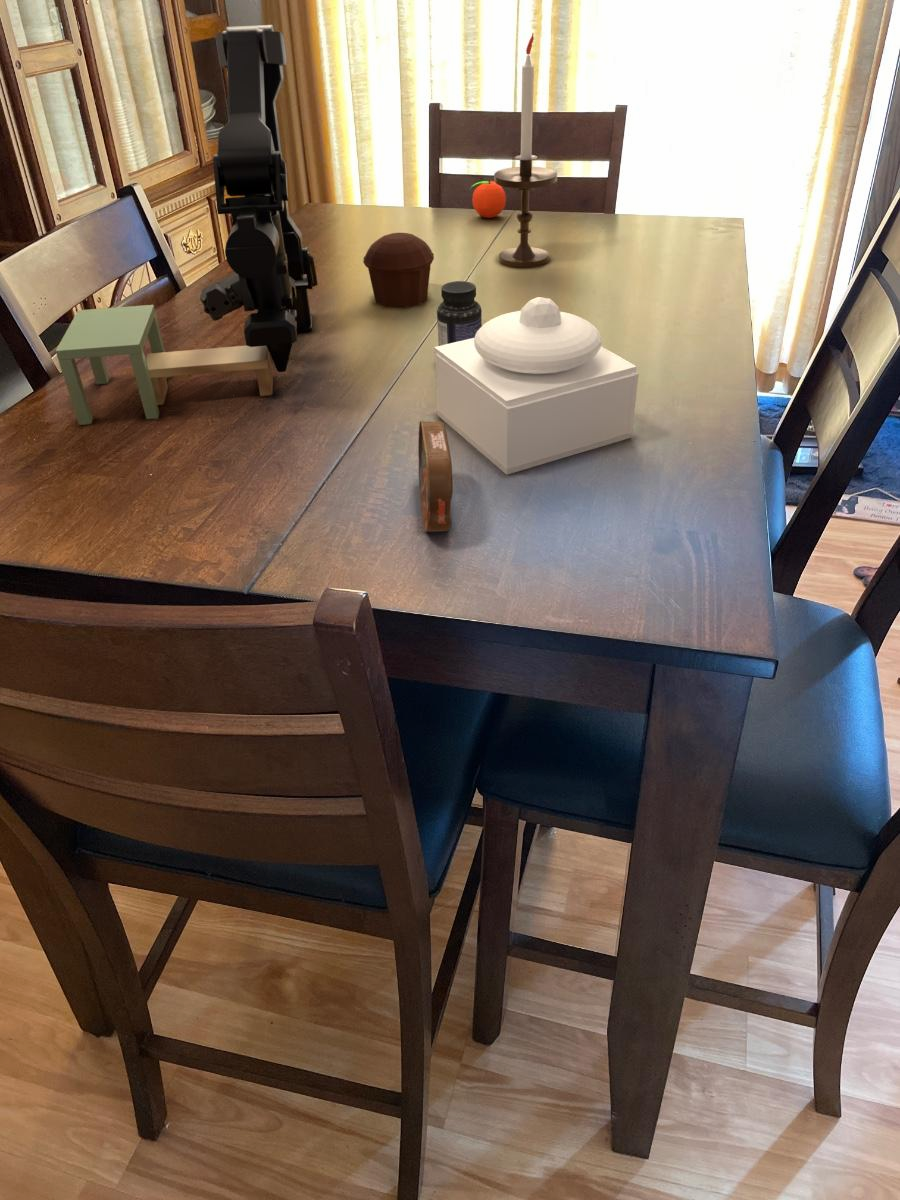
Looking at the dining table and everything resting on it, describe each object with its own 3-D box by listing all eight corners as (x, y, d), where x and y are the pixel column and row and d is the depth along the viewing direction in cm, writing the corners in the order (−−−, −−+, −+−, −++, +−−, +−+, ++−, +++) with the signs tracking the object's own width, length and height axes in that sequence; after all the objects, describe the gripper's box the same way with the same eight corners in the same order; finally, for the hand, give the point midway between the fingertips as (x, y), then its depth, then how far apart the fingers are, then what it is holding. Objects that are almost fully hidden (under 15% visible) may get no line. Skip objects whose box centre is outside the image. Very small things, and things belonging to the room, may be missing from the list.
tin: (417, 474, 101) (413, 407, 96) (445, 472, 101) (442, 405, 96) (426, 549, 89) (421, 476, 84) (457, 546, 89) (454, 474, 84)
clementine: (465, 221, 181) (464, 184, 176) (470, 212, 186) (469, 176, 182) (503, 222, 180) (504, 184, 175) (507, 212, 185) (508, 176, 181)
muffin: (394, 316, 140) (390, 251, 134) (352, 299, 147) (346, 237, 140) (449, 297, 146) (448, 234, 140) (407, 282, 153) (404, 221, 147)
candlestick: (563, 255, 162) (575, 29, 140) (536, 272, 155) (543, 37, 133) (512, 247, 166) (515, 27, 145) (483, 263, 159) (481, 35, 138)
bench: (273, 378, 123) (267, 343, 120) (272, 395, 119) (266, 359, 115) (156, 387, 121) (147, 353, 118) (151, 405, 117) (142, 370, 114)
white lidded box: (506, 475, 100) (508, 340, 90) (435, 413, 113) (430, 289, 103) (632, 437, 106) (646, 307, 96) (551, 383, 119) (556, 263, 109)
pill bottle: (487, 358, 126) (487, 281, 119) (474, 375, 122) (473, 296, 115) (447, 354, 128) (444, 277, 121) (432, 370, 123) (429, 292, 116)
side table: (170, 374, 125) (153, 304, 119) (158, 418, 114) (139, 344, 108) (98, 380, 124) (77, 310, 118) (79, 425, 113) (55, 350, 107)
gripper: (202, 237, 116) (225, 350, 126) (190, 282, 102) (217, 406, 112) (287, 230, 117) (303, 342, 127) (286, 274, 103) (305, 398, 113)
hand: (281, 371), depth 120 cm, fingers closed, pressing on bench
